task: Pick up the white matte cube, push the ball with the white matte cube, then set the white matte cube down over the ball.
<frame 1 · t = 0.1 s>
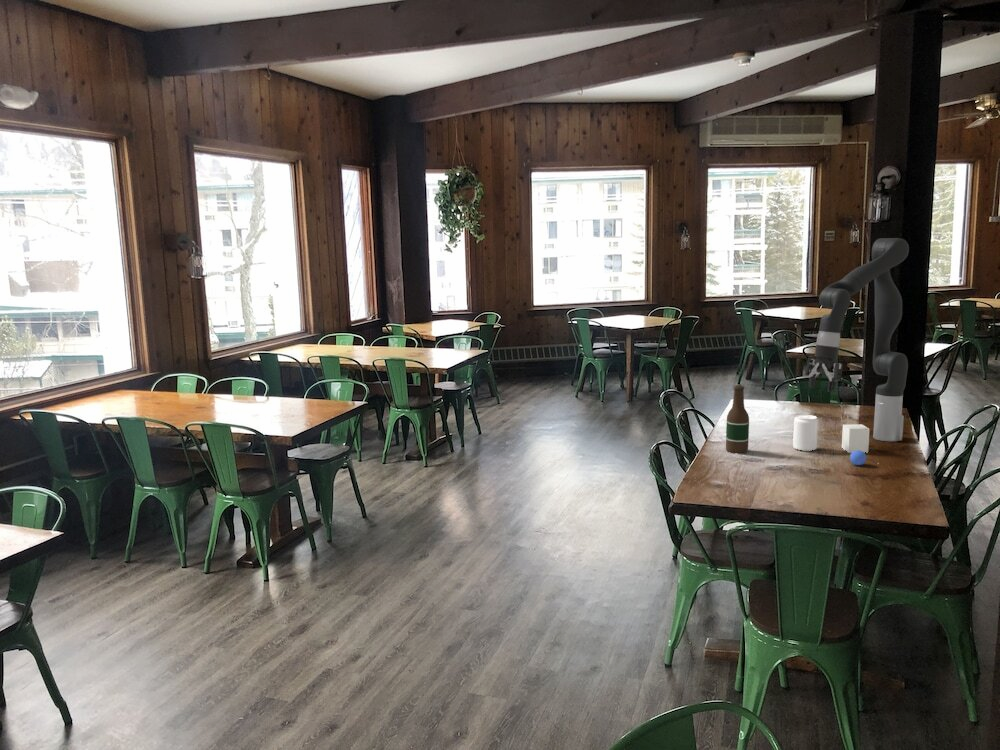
hand: (820, 390, 288), 22 cm above the table, tool pointing down, fingers open, 8 cm apart
beverage can: (804, 449, 294), on the table
beer bottle: (736, 451, 293), on the table
ball: (858, 457, 272), on the table
white matte cube: (854, 450, 291), on the table
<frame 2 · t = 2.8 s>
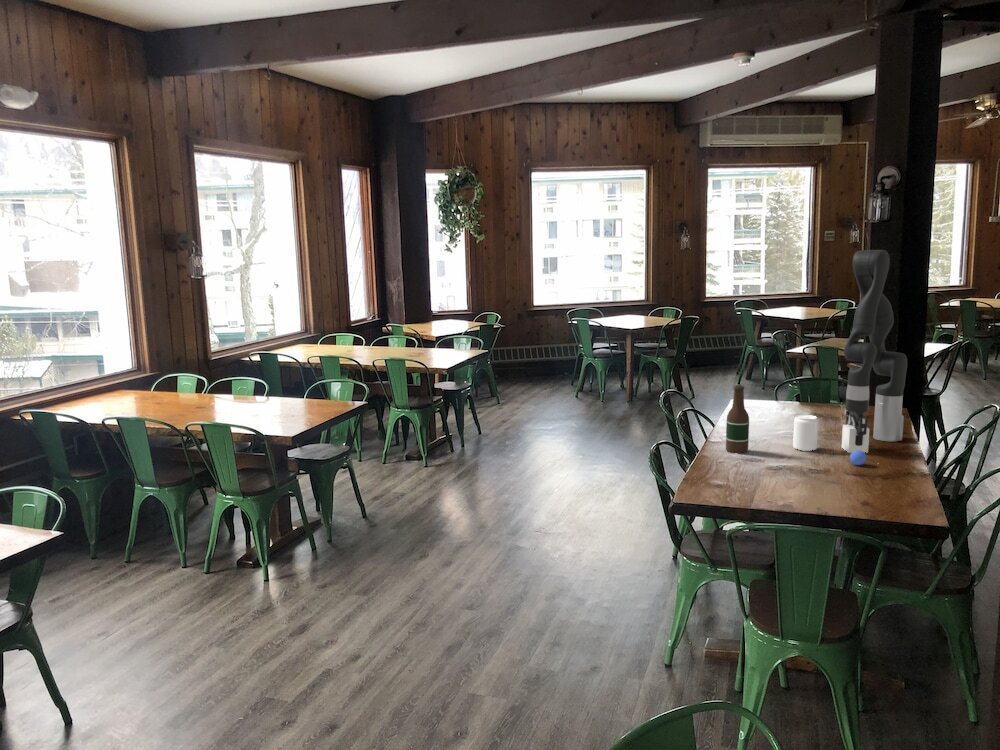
hand: (854, 442, 291), 3 cm above the table, tool pointing down, fingers closed on white matte cube, 7 cm apart
white matte cube: (854, 450, 291), on the table, touching gripper
everything else where it was.
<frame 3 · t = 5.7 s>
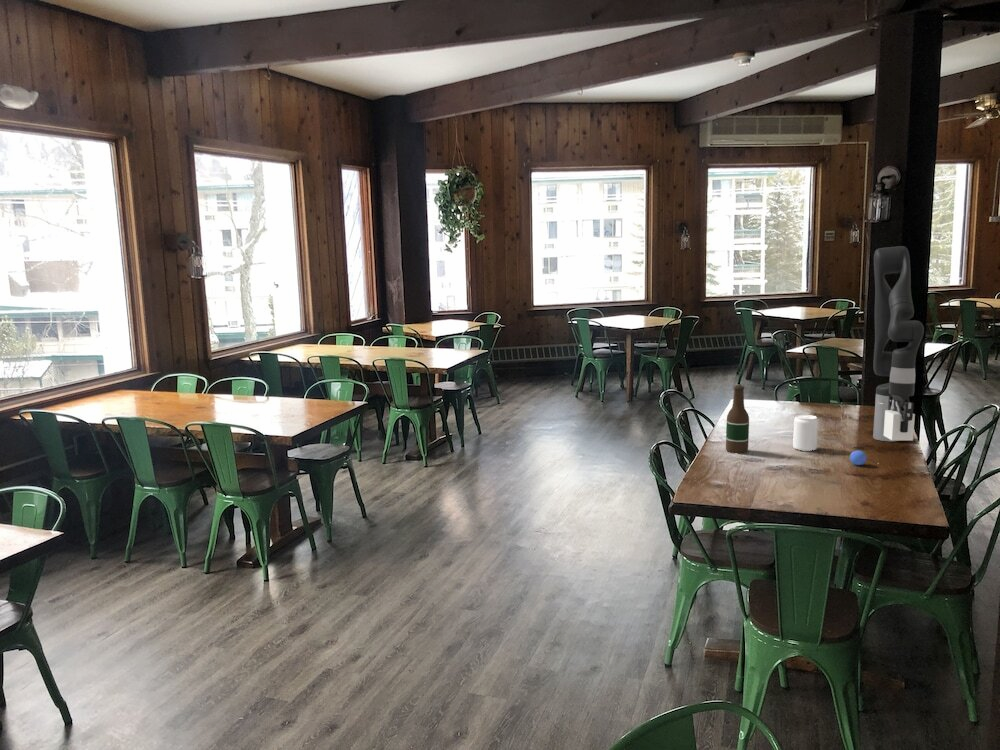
hand: (898, 429, 270), 12 cm above the table, tool pointing down, fingers closed on white matte cube, 7 cm apart
white matte cube: (898, 438, 270), point 9 cm above the table, touching gripper
everything else where it was.
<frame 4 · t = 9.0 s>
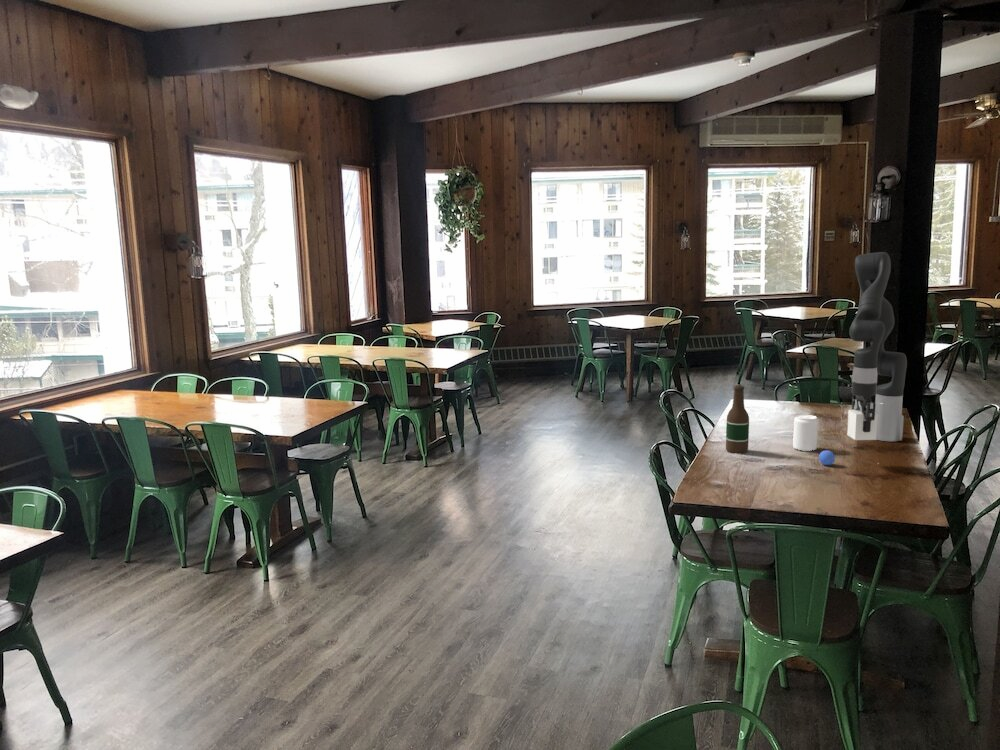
hand: (862, 429, 271), 12 cm above the table, tool pointing down, fingers closed on white matte cube, 7 cm apart
ball: (826, 457, 273), on the table
white matte cube: (861, 437, 271), point 10 cm above the table, touching gripper
everything else where it was.
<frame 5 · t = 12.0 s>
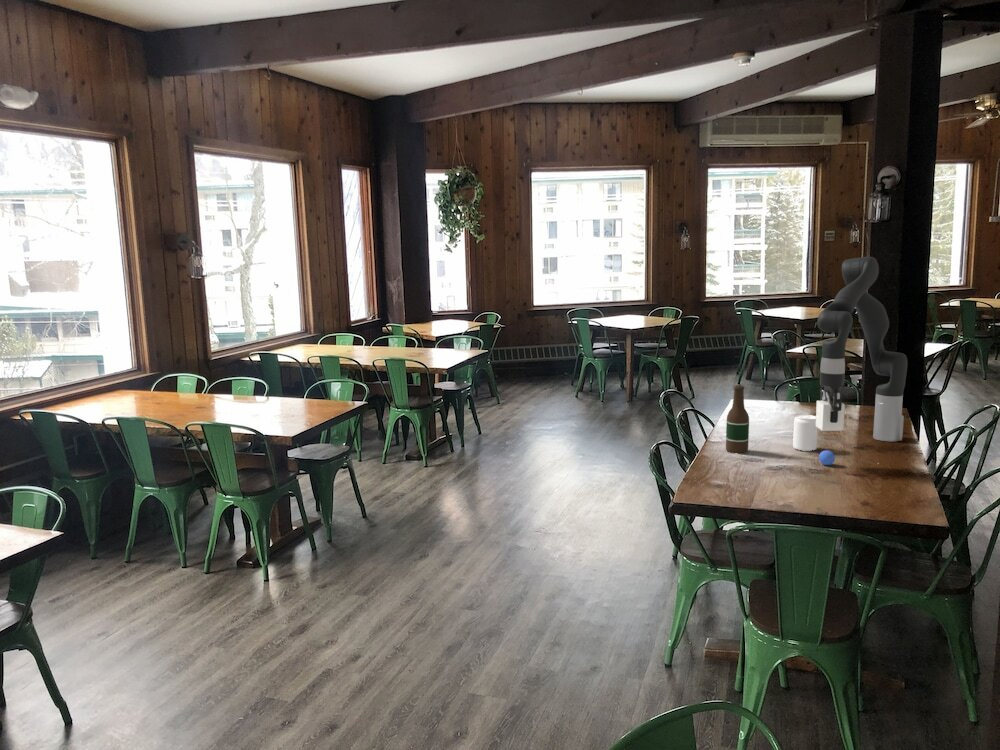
hand: (829, 419, 271), 16 cm above the table, tool pointing down, fingers closed on white matte cube, 7 cm apart
white matte cube: (829, 428, 271), point 13 cm above the table, touching gripper
everything else where it was.
when the fingers open (3 cm above the table, at t = 14.7 s): white matte cube stays where it is, on the table.
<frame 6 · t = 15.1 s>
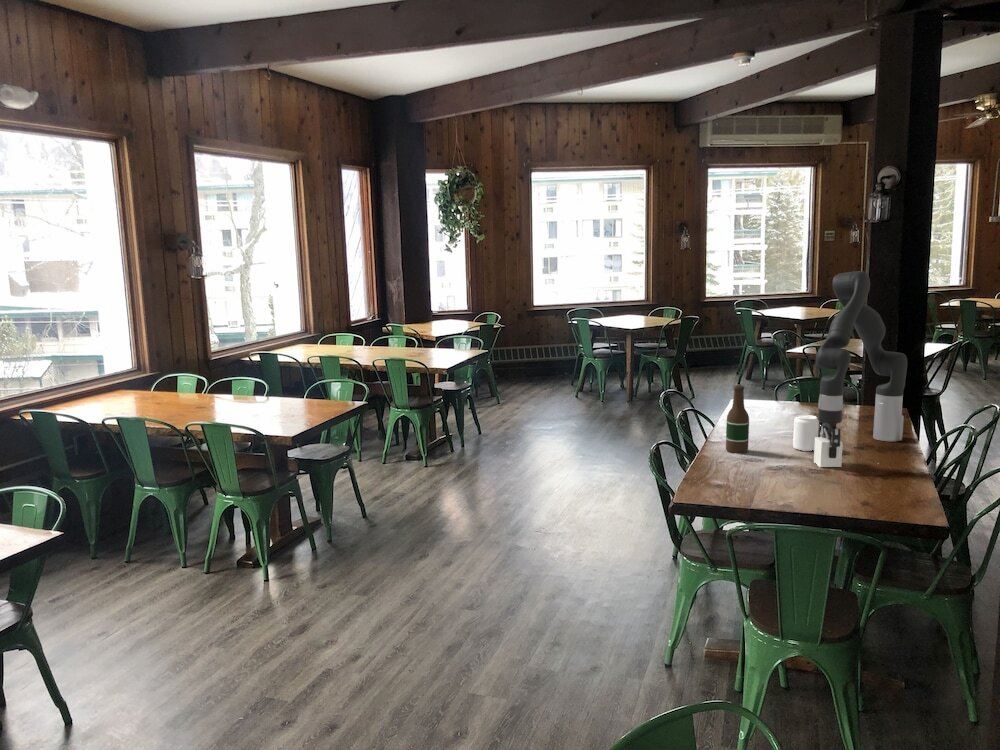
hand: (827, 454, 273), 4 cm above the table, tool pointing down, fingers open, 8 cm apart
white matte cube: (827, 465, 273), on the table
everything else where it was.
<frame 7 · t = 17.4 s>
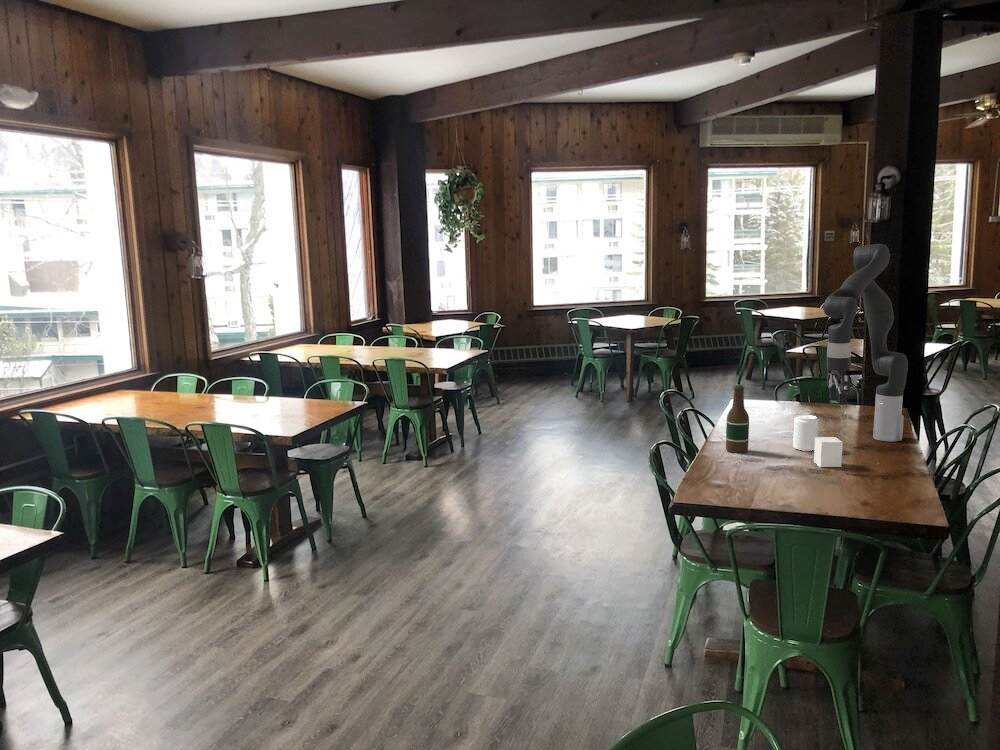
hand: (837, 401, 278), 20 cm above the table, tool pointing down, fingers open, 8 cm apart
nothing on the table moved.
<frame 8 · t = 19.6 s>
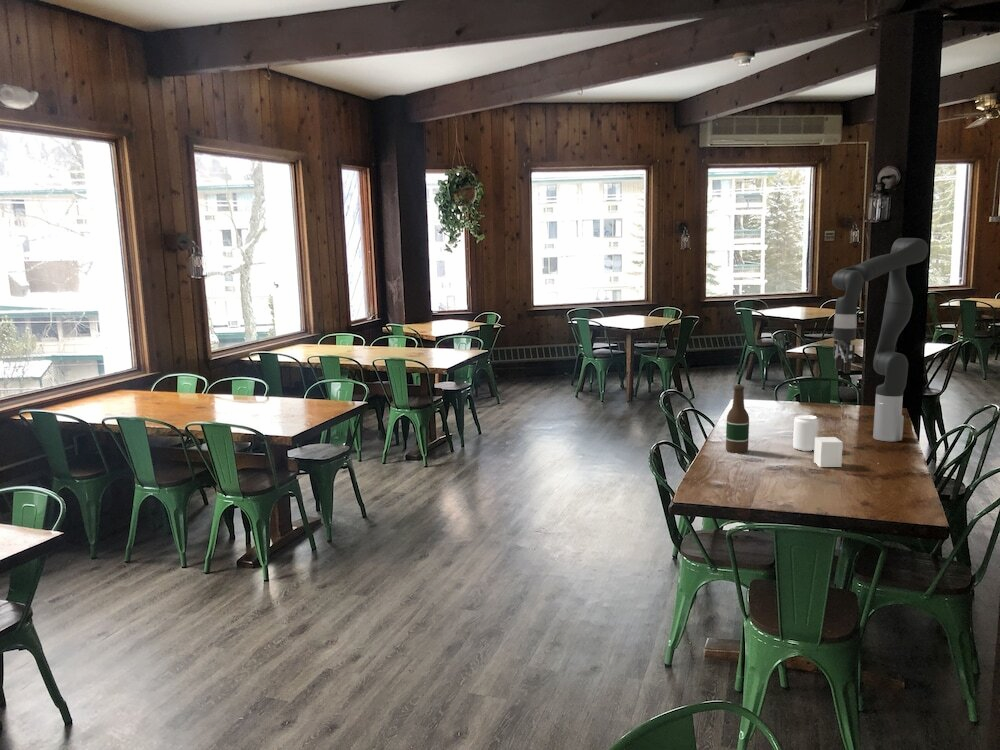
hand: (842, 371, 292), 28 cm above the table, tool pointing down, fingers open, 8 cm apart
nothing on the table moved.
at the end: ball 0.3 cm from the white matte cube (horizontally); white matte cube on the table; ball moved 10.3 cm from its start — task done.
